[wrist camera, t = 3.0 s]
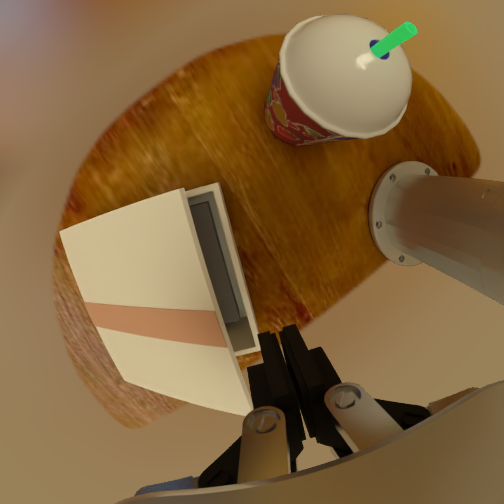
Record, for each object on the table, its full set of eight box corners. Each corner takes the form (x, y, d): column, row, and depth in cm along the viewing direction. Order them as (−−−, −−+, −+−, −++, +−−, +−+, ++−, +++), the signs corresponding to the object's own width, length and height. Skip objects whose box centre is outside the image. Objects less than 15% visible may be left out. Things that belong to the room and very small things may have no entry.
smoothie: (335, 155, 27) (489, 139, 8) (256, 155, 27) (326, 106, 8) (330, 82, 25) (452, -6, 6) (252, 78, 25) (298, -59, 5)
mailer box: (219, 181, 27) (217, 182, 21) (255, 315, 31) (262, 349, 25) (96, 220, 27) (64, 232, 20) (141, 340, 31) (126, 375, 24)
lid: (184, 187, 13) (177, 188, 13) (256, 413, 17) (253, 418, 17) (62, 230, 20) (58, 231, 20) (127, 378, 24) (123, 381, 24)
